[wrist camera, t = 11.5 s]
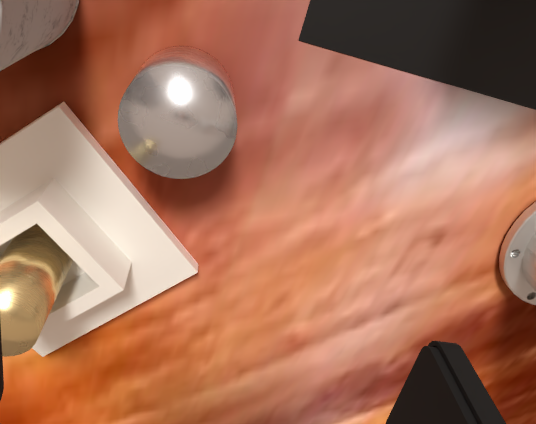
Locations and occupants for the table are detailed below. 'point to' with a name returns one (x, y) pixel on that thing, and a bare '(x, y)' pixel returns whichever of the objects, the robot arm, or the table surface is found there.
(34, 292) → the cylinder
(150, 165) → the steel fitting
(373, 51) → the black-topped pedestal
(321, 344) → the table surface
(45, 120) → the flange socket
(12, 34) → the grey cylinder
